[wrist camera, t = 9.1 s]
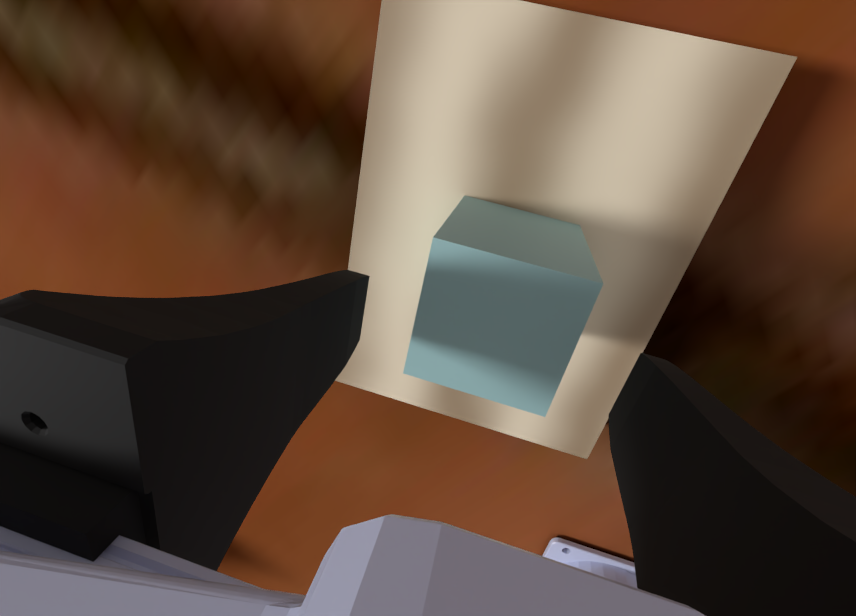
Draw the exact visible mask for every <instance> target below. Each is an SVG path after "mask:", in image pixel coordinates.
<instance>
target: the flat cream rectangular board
mask: <svg viewBox="0 0 856 616" xmlns="http://www.w3.org/2000/svg"><path fill="white" fill-rule="evenodd" d="M796 59H797V57H794V56H789V55H784V54H780V53H775V52H770V51H765V50H760V49H755V48H750V47H745V46H740V45H735V44H731V43H726V42H721V41H716V40H711V39H706V38H701V37H696V36H691V35H687V34H682V33H677V32H672V31H667V30H662V29H657V28H652V27H647V26H643V25H638V24H633V23H628V22H623V21H618V20H613V19H608V18H603V17H598V16H594V15H589V14H584V13H579V12H574V11H569V10H564V9H559V8H554V7H550V6H545V5H540V4H535V3H530V2H525V1H520V0H382V2H381V10H380V18H379V26H378V34H377V42H376V50H375V58H374V66H373V74H372V82H371V90H370V98H369V106H368V114H367V122H366V130H365V138H364V146H363V154H362V162H361V170H360V178H359V186H358V194H357V202H356V210H355V218H354V226H353V234H352V242H351V250H350V258H349V266H348V270H350V271H354V272H358V273H361V274H365V275H368V276H370V277H369V283H368V290H367V296H366V303H365V309H364V316H363V323H362V329H361V336H360V341H359V342H358V344H357V346H356V348H355V350H354V352H353V354H352V356H351V357H350V359H349V361H348V363H347V364H346V366H345V368H344V369H343V370H342V372H341V373H340V374H339V376H338V377H337V378H336V380H335V381H338V382H342V383H345V384H348V385H351V386H354V387H358V388H361V389H364V390H367V391H370V392H374V393H377V394H380V395H383V396H386V397H390V398H393V399H396V400H399V401H402V402H406V403H409V404H412V405H415V406H418V407H422V408H425V409H428V410H431V411H434V412H438V413H441V414H444V415H447V416H450V417H454V418H457V419H460V420H463V421H466V422H470V423H473V424H476V425H479V426H482V427H486V428H489V429H492V430H495V431H498V432H502V433H505V434H508V435H511V436H514V437H518V438H521V439H524V440H527V441H530V442H534V443H537V444H540V445H543V446H547V447H550V448H553V449H556V450H559V451H563V452H566V453H569V454H572V455H575V456H579V457H582V458H585V459H587V458H588V456H589V454H590V453H591V451H592V449H593V447H594V445H595V443H596V441H597V439H598V437H599V435H600V433H601V432H602V430H603V428H604V426H605V424H606V422H607V420H608V418H609V413H610V411H611V409H612V407H613V405H614V403H615V401H616V399H617V397H618V395H619V394H620V392H621V390H622V388H623V386H624V384H625V382H626V380H627V378H628V376H629V374H630V372H631V370H632V369H633V367H634V365H635V363H636V361H637V359H638V357H639V355H640V353H643V351H644V349H645V347H646V346H647V344H648V342H649V340H650V338H651V336H652V334H653V332H654V330H655V328H656V326H657V325H658V323H659V321H660V319H661V317H662V315H663V313H664V311H665V309H666V307H667V305H668V304H669V302H670V300H671V298H672V296H673V294H674V292H675V290H676V288H677V286H678V284H679V283H680V281H681V279H682V277H683V275H684V273H685V271H686V269H687V267H688V265H689V263H690V261H691V260H692V258H693V256H694V254H695V252H696V250H697V248H698V246H699V244H700V242H701V240H702V239H703V237H704V235H705V233H706V231H707V229H708V227H709V225H710V223H711V221H712V219H713V218H714V216H715V214H716V212H717V210H718V208H719V206H720V204H721V202H722V200H723V198H724V197H725V195H726V193H727V191H728V189H729V187H730V185H731V183H732V181H733V179H734V177H735V175H736V174H737V172H738V170H739V168H740V166H741V164H742V162H743V160H744V158H745V156H746V154H747V153H748V151H749V149H750V147H751V145H752V143H753V141H754V139H755V137H756V135H757V133H758V132H759V130H760V128H761V126H762V124H763V122H764V120H765V118H766V116H767V114H768V112H769V111H770V109H771V107H772V105H773V103H774V101H775V99H776V97H777V95H778V93H779V91H780V90H781V88H782V86H783V84H784V82H785V80H786V78H787V76H788V74H789V72H790V70H791V68H792V67H793V65H794V63H795V61H796ZM464 196H469V197H473V198H477V199H481V200H484V201H488V202H492V203H496V204H500V205H504V206H508V207H511V208H515V209H519V210H523V211H527V212H531V213H534V214H538V215H542V216H546V217H550V218H554V219H558V220H561V221H565V222H569V223H573V224H577V225H580V227H581V229H582V232H583V234H584V237H585V239H586V242H587V244H588V247H589V249H590V251H591V254H592V256H593V259H594V261H595V264H596V266H597V269H598V271H599V274H600V276H601V279H602V281H603V286H602V288H601V290H600V293H599V295H598V297H597V300H596V302H595V304H594V306H593V309H592V311H591V313H590V316H589V318H588V320H587V322H586V325H585V327H584V329H583V332H582V334H581V336H580V338H579V341H578V343H577V345H576V348H575V350H574V352H573V355H572V357H571V359H570V361H569V364H568V366H567V368H566V371H565V373H564V375H563V377H562V380H561V382H560V384H559V387H558V389H557V391H556V393H555V396H554V398H553V400H552V403H551V405H550V407H549V409H548V412H547V414H546V416H545V417H543V416H540V415H537V414H533V413H530V412H527V411H524V410H520V409H517V408H514V407H511V406H507V405H504V404H501V403H498V402H494V401H491V400H488V399H485V398H481V397H478V396H475V395H472V394H468V393H465V392H462V391H459V390H455V389H452V388H449V387H446V386H442V385H439V384H436V383H433V382H429V381H426V380H423V379H420V378H417V377H413V376H410V375H407V374H404V373H403V371H404V367H405V362H406V358H407V353H408V349H409V344H410V340H411V335H412V330H413V326H414V321H415V317H416V312H417V308H418V303H419V299H420V294H421V290H422V285H423V281H424V276H425V272H426V267H427V262H428V258H429V253H430V249H431V244H432V240H433V237H434V235H435V234H436V233H437V231H438V230H439V229H440V227H441V226H442V225H443V223H444V222H445V221H446V219H447V218H448V217H449V216H450V214H451V213H452V212H453V210H454V209H455V208H456V206H457V205H458V204H459V202H460V201H461V200H462V198H463V197H464Z"/></svg>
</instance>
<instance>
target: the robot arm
mask: <svg viewBox="0 0 856 616" xmlns="http://www.w3.org/2000/svg"><path fill="white" fill-rule="evenodd" d="M369 277H370V276H368V275H365V274H361V273H358V272H354V271H350V270H342V271H337V272H333V273H328V274H324V275H321V276H317V277H313V278H309V279H305V280H301V281H297V282H293V283H289V284H284V285H279V286H275V287H270V288H265V289H260V290H255V291H249V292H242V293H234V294H225V295H216V296H200V297H180V298H129V297H107V296H93V295H81V294H70V293H59V292H48V291H39V290H29V291H24V292H21V293H18V294H15V295H13V296H10V297H7V298H4V299H2V300H0V616H856V497H855V496H853V495H852V494H850V493H848V492H847V491H845V490H844V489H842V488H840V487H839V486H837V485H835V484H834V483H832V482H831V481H829V480H827V479H826V478H824V477H823V476H821V475H820V474H818V473H817V472H815V471H814V470H812V469H811V468H809V467H808V466H806V465H805V464H803V463H802V462H800V461H799V460H797V459H796V458H794V457H793V456H791V455H790V454H789V453H787V452H786V451H784V450H783V449H781V448H780V447H779V446H777V445H776V444H775V443H773V442H772V441H771V440H769V439H768V438H767V437H765V436H764V435H763V434H761V433H760V432H759V431H757V430H756V429H755V428H753V427H752V426H751V425H749V424H748V423H747V422H746V421H744V420H743V419H742V418H740V417H739V416H738V415H737V414H735V413H734V412H733V411H732V410H730V409H729V408H728V407H727V406H725V405H724V404H723V403H722V402H721V401H719V400H718V399H717V398H716V397H714V396H713V395H712V394H711V393H710V392H708V391H707V390H706V389H705V388H703V387H702V386H701V385H700V384H699V383H697V382H696V381H695V380H694V379H692V378H691V377H690V376H689V375H687V374H686V373H685V372H683V371H682V370H681V369H679V368H678V367H677V366H675V365H674V364H672V363H670V362H669V361H667V360H665V359H661V358H658V357H654V356H651V355H647V354H644V353H640V355H639V357H638V359H637V361H636V363H635V365H634V367H633V369H632V370H631V372H630V374H629V376H628V378H627V380H626V382H625V384H624V386H623V388H622V390H621V392H620V394H619V395H618V397H617V399H616V401H615V403H614V405H613V407H612V409H611V411H610V413H609V435H610V447H611V453H612V458H613V462H614V467H615V471H616V476H617V480H618V485H619V489H620V493H621V498H622V502H623V506H624V511H625V515H626V519H627V523H628V528H629V532H630V538H631V543H632V549H633V556H634V562H631V561H628V560H625V559H622V558H619V557H616V556H613V555H610V554H607V553H604V552H601V551H598V550H595V549H592V548H589V547H586V546H583V545H580V544H577V543H574V542H571V541H568V540H565V539H562V538H558V537H557V538H553V539H551V540H550V542H549V544H548V546H547V548H546V550H545V552H544V553H543V555H542V556H540V555H537V554H535V553H532V552H529V551H526V550H523V549H520V548H517V547H514V546H511V545H508V544H505V543H502V542H499V541H496V540H493V539H490V538H487V537H485V536H482V535H479V534H476V533H473V532H470V531H467V530H464V529H461V528H458V527H455V526H452V525H449V524H446V523H443V522H439V521H433V520H426V519H419V518H413V517H406V516H400V515H393V514H391V515H386V516H382V517H379V518H375V519H372V520H369V521H365V522H362V523H358V524H355V525H351V526H348V527H345V528H342V530H341V531H340V533H339V534H338V536H337V537H336V539H335V540H334V542H333V544H332V545H331V547H330V548H329V550H328V551H327V553H326V554H325V556H324V558H323V560H322V562H321V565H320V567H319V569H318V571H317V573H316V575H315V577H314V580H313V582H312V584H311V586H310V588H309V590H308V593H307V595H301V594H294V593H287V592H281V591H274V590H267V589H262V588H259V587H257V586H254V585H251V584H249V583H246V582H243V581H241V580H238V579H235V578H233V577H230V576H227V575H225V574H222V573H219V572H217V569H218V567H219V565H220V563H221V561H222V559H223V557H224V555H225V554H226V552H227V550H228V548H229V546H230V544H231V542H232V541H233V539H234V537H235V535H236V533H237V531H238V530H239V528H240V526H241V524H242V522H243V520H244V519H245V517H246V515H247V513H248V511H249V509H250V508H251V506H252V504H253V502H254V501H255V499H256V497H257V495H258V494H259V492H260V490H261V488H262V487H263V485H264V483H265V481H266V480H267V478H268V476H269V475H270V473H271V471H272V469H273V468H274V466H275V464H276V463H277V461H278V459H279V458H280V456H281V455H282V453H283V451H284V450H285V448H286V446H287V445H288V443H289V441H290V440H291V438H292V437H293V435H294V434H295V432H296V431H297V429H298V428H299V427H300V425H301V424H302V422H303V421H304V420H305V419H306V417H307V416H308V415H309V413H310V412H311V411H312V410H313V408H314V407H315V406H316V404H317V403H318V402H319V400H320V399H321V398H322V397H323V395H324V394H325V393H326V391H327V390H328V389H329V388H330V386H331V385H332V384H333V382H334V381H335V380H336V378H337V377H338V376H339V374H340V373H341V372H342V370H343V369H344V368H345V366H346V364H347V363H348V361H349V359H350V357H351V356H352V354H353V352H354V350H355V348H356V346H357V344H358V342H359V341H360V336H361V329H362V323H363V316H364V309H365V303H366V296H367V290H368V283H369Z"/></svg>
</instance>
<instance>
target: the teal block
mask: <svg viewBox="0 0 856 616" xmlns="http://www.w3.org/2000/svg"><path fill="white" fill-rule="evenodd" d="M602 286H603V281H602V279H601V276H600V274H599V271H598V269H597V266H596V264H595V261H594V259H593V256H592V254H591V251H590V249H589V247H588V244H587V242H586V239H585V237H584V234H583V232H582V229H581V227H580V225H577V224H573V223H569V222H565V221H561V220H558V219H554V218H550V217H546V216H542V215H538V214H534V213H531V212H527V211H523V210H519V209H515V208H511V207H508V206H504V205H500V204H496V203H492V202H488V201H484V200H481V199H477V198H473V197H469V196H464V197H463V198H462V200H461V201H460V202H459V204H458V205H457V206H456V208H455V209H454V210H453V212H452V213H451V214H450V216H449V217H448V218H447V219H446V221H445V222H444V223H443V225H442V226H441V227H440V229H439V230H438V231H437V233H436V234H435V235H434V237H433V240H432V244H431V249H430V253H429V258H428V262H427V267H426V272H425V276H424V281H423V285H422V290H421V294H420V299H419V303H418V308H417V312H416V317H415V321H414V326H413V330H412V335H411V340H410V344H409V349H408V353H407V358H406V362H405V367H404V371H403V373H404V374H407V375H410V376H413V377H417V378H420V379H423V380H426V381H429V382H433V383H436V384H439V385H442V386H446V387H449V388H452V389H455V390H459V391H462V392H465V393H468V394H472V395H475V396H478V397H481V398H485V399H488V400H491V401H494V402H498V403H501V404H504V405H507V406H511V407H514V408H517V409H520V410H524V411H527V412H530V413H533V414H537V415H540V416H543V417H545V416H546V414H547V412H548V409H549V407H550V405H551V403H552V400H553V398H554V396H555V393H556V391H557V389H558V387H559V384H560V382H561V380H562V377H563V375H564V373H565V371H566V368H567V366H568V364H569V361H570V359H571V357H572V355H573V352H574V350H575V348H576V345H577V343H578V341H579V338H580V336H581V334H582V332H583V329H584V327H585V325H586V322H587V320H588V318H589V316H590V313H591V311H592V309H593V306H594V304H595V302H596V300H597V297H598V295H599V293H600V290H601V288H602Z"/></svg>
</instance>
